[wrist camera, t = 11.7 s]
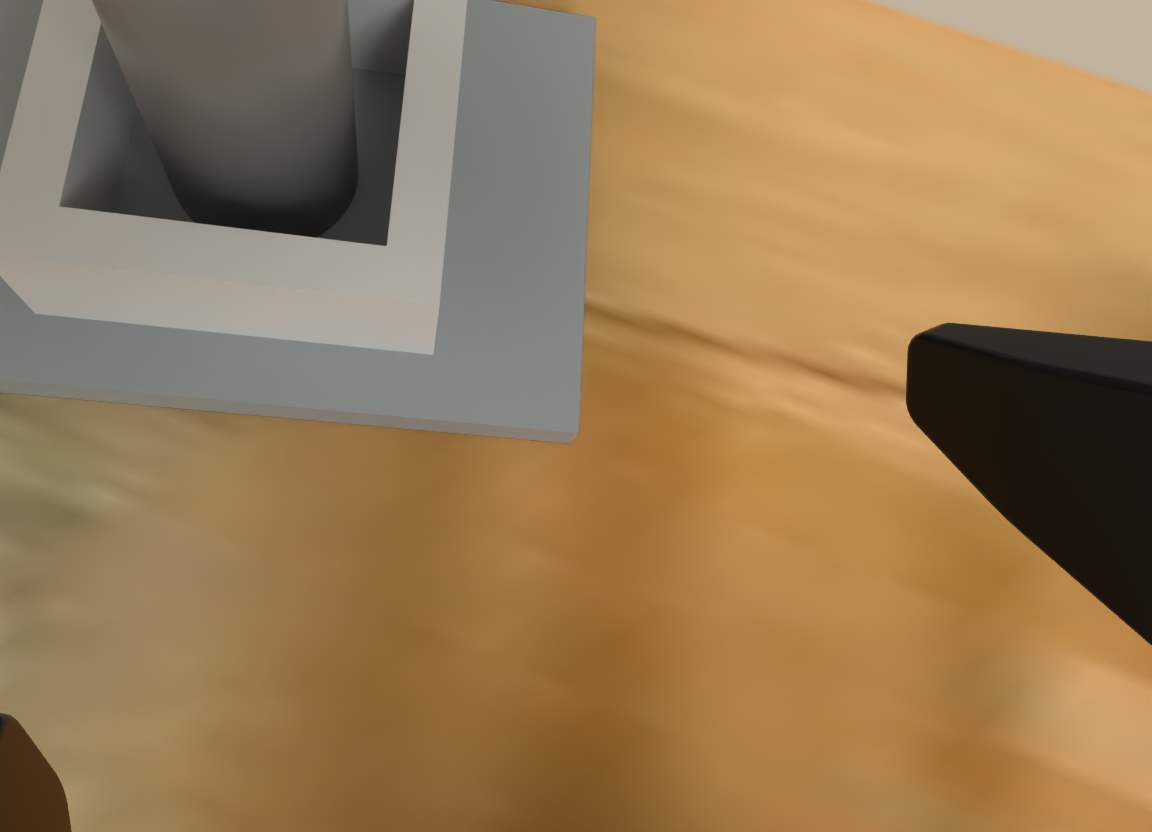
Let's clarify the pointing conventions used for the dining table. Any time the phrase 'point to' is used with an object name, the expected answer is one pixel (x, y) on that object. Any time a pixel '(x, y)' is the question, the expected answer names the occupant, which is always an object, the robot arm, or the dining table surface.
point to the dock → (307, 264)
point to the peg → (245, 105)
